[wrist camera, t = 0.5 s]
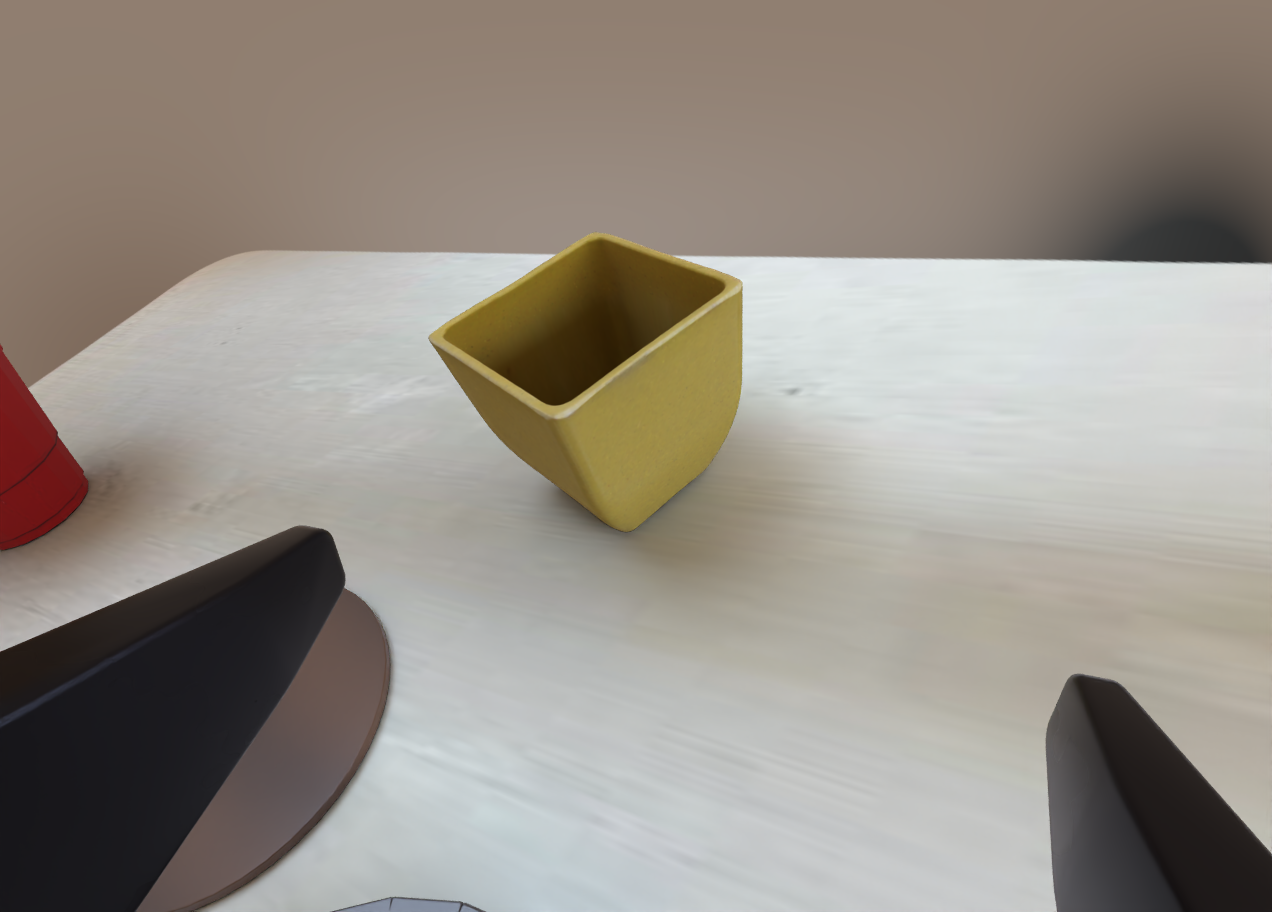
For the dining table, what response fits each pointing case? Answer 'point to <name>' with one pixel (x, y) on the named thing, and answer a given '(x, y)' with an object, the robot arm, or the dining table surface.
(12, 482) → the plastic cup
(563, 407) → the flower pot
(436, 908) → the pan
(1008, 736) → the dining table surface
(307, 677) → the disc
